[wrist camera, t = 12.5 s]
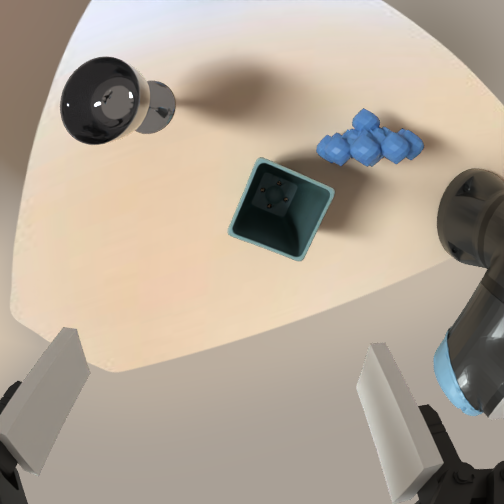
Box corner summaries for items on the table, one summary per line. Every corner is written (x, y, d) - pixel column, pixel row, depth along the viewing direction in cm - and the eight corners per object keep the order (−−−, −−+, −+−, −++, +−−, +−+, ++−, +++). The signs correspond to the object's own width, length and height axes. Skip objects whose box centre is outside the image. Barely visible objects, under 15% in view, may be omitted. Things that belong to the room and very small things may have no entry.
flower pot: (319, 176, 40) (337, 190, 32) (292, 236, 43) (301, 263, 35) (256, 149, 39) (258, 155, 31) (230, 212, 42) (225, 234, 34)
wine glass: (111, 99, 36) (48, 92, 22) (161, 66, 34) (116, 39, 21) (137, 148, 38) (82, 162, 25) (189, 116, 37) (155, 112, 23)
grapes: (388, 107, 36) (435, 104, 25) (395, 156, 39) (442, 169, 28) (304, 115, 37) (326, 111, 26) (313, 167, 40) (337, 183, 29)
